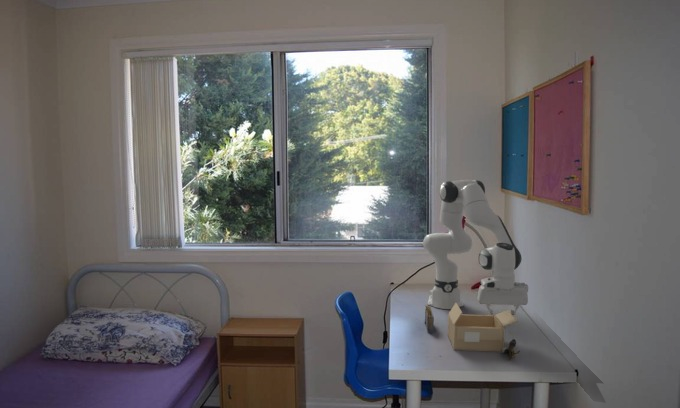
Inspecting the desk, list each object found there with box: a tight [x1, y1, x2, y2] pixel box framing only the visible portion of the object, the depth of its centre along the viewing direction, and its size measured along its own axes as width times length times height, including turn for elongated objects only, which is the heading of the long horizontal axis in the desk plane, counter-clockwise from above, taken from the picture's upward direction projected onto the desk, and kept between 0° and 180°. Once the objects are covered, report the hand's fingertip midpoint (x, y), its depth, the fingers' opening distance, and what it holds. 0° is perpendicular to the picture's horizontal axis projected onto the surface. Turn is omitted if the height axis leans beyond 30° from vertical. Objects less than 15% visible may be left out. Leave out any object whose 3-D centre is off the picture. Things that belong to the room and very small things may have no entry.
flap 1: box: [448, 303, 463, 325], centre depth 203 cm, size 13×1×6 cm
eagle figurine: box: [500, 338, 521, 361], centre depth 191 cm, size 8×7×9 cm
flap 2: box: [494, 309, 519, 328], centre depth 202 cm, size 13×1×6 cm
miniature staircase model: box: [424, 304, 434, 334], centre depth 221 cm, size 11×3×10 cm, turn 175°
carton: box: [447, 313, 505, 352], centre depth 203 cm, size 16×20×10 cm
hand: (501, 314), depth 201 cm, fingers open, 8 cm apart
